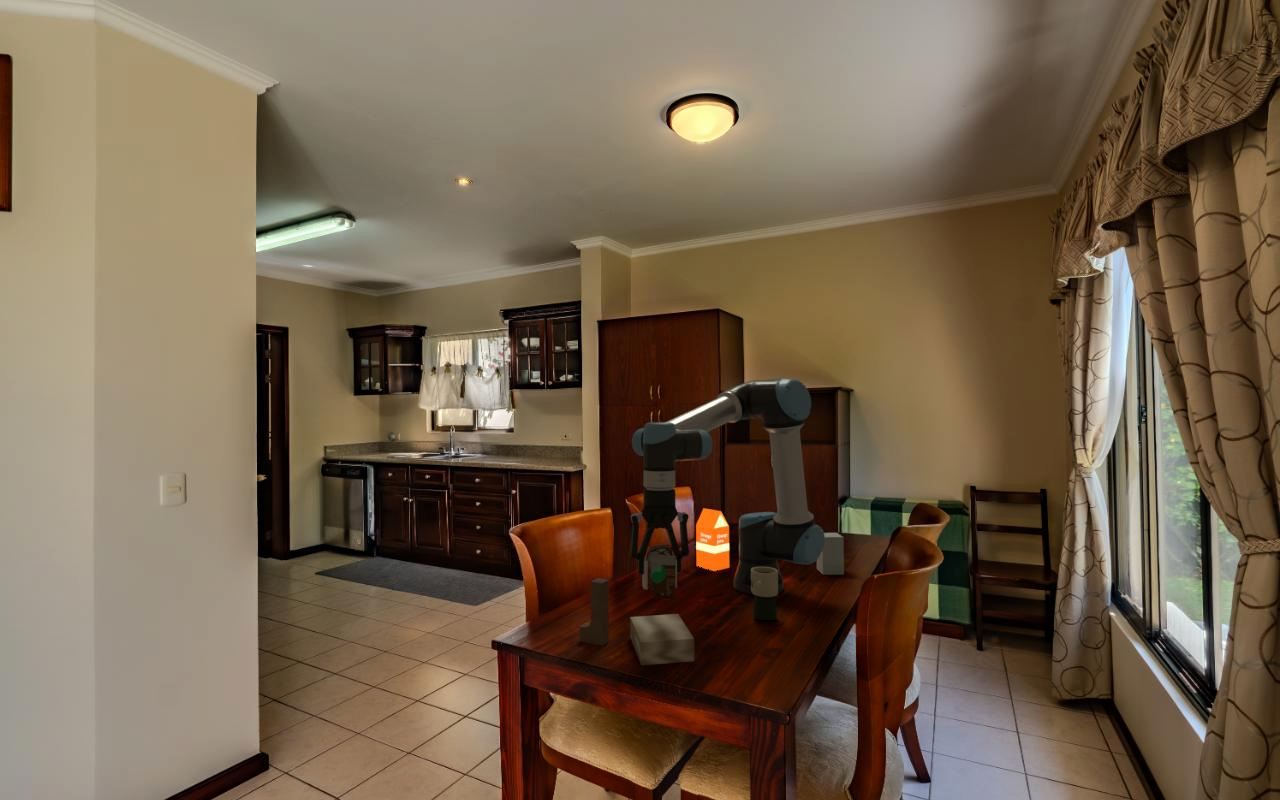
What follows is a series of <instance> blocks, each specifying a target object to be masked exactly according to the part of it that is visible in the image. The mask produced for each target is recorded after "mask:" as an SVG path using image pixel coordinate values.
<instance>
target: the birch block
mask: <svg viewBox="0 0 1280 800" xmlns="http://www.w3.org/2000/svg"><path fill="white" fill-rule="evenodd" d="M629 622H630V627H629V628H630V629H629V632H630V639H631V643H632V644H633V645H632V646H633V648H634V650H635V654H636V655H637V657H638V660H639V663H640V665H641V666H651V665H663V664H673V663H675V664H676V663H686V662H687V663H688V662H695V637H694V636H693V634H692V633H691V632H690V630H689V628H688V627H687V625H686V624H685V622H684V621H683V619H682V618H681V616H680V615H679V614H678V613H670V614H659V615H658V614H657V615H642V616H639V615H638V616H631V617H629Z"/></svg>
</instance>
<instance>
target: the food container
mask: <svg viewBox="0 0 1280 800" xmlns="http://www.w3.org/2000/svg"><path fill="white" fill-rule="evenodd" d="M645 558H646V560H647V561H648V563H649V579H650V590H651V592H650V593H651V595H652V596H653V597H657V598H659V599H668V600H676V588H675V582H676V556H675V555H674V554H673V552H672V551H671V550H670V544H669V543H668V544H658V545H654V546H651V547H650V548H649V547H648V550H647V552H646V556H645Z"/></svg>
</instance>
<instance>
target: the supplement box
mask: <svg viewBox="0 0 1280 800" xmlns="http://www.w3.org/2000/svg"><path fill="white" fill-rule="evenodd" d="M844 544H845V543H844V536H842V535H841V534H840V533H838V532H824V546H823V550H822V552H821V554H820V556H819V558H818V559H817V560H816V570H817V571H819V572H820V574H822V575H823V576H824V575H825V576H835V575H837V576H840V575H841V576H843V575H844V574H845V555H844V554H845V551H844V549H845V548H844ZM844 576H845V575H844Z"/></svg>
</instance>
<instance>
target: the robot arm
mask: <svg viewBox="0 0 1280 800" xmlns="http://www.w3.org/2000/svg"><path fill="white" fill-rule="evenodd" d="M811 410H812V399H811V395H810V391H809V390H808V388H807V387H806V385H805V384H803V382H801V381H800V380H798V379H796V378H794V379H793V378H785V377H784V378H775V379H774V378H773V379H754V380H749V381H747V382H743V383H741V384H738V385H735V386H734V387H731V388H729V389H726V390H725V391H722V392H721V393H719V394H718V395H717V397H716V398H715V399H713V400H711V401H709V402H707V403H704V404H702V405H700V406H698V407H696V408H694V409H692V410H689V411H687V412H685V413H683V414H681V415H678V416H677V417H674V418H672V419H670V420H668V421H665V422H647V423H645V424H644V426H643V428H639V429H637V430H635V432H634V433H633V436H632V438H631V445H632V449H633V452H635V454H636V455H638V456H640V457H643V459H642V460H643V481H642V482H643V483H642V484H643V487H644V489H643V508H642V510H641V512H638V513H631V514H630V520H631V523H632V525H631V526H632V527H631V538H630V549H629V550H630V551H629V555H630V556H631V557H632V559H636V560H637V571H638V574H639V575H642V581H641V582H642V583H641V584H642V588H643V589H644V590H648V587H649V586H648V585H649V584H648V583H649V581H648V576H649V575H648V573H649V571H648V563H649V561H647V560H646V556H647V552H648V550H649V547H650V542H651V538H652V536H653V533H654V531H655V530H657V529H665V531H666V533H667V537H668V539H669V543H670V545H671V549H672V551H673V552H672V553H673V556H676V582H675V589H677V588H678V573H682V559H683V558H684V557H688V556H689V554H690V548H689V535H688V520H689V517H690V516H689V514H688V513H686V512H680V511H678V510H677V507H676V490H675V487H676V465H677V464H676V462H677V463H678V462H685V461H687V462H688V461H699V460H704V459H707V458H709V457H710V454H712V452H713V446H714V445H713V443H714V442H713V439H712V436H711V434H709V432H711V431H713V430H714V429H717V428H720V427H721V426H724V425H725V424H727V423H730V424H733V423H734V424H735V423H737V422H739V421H742V420H762V427H763V429H764V430H765V431H766V432H768V434H769V443H770V451H771V461H772V463H771V464H772V471H773V480H774V481H773V482H774V490H775V500H776V501H775V502H776V507H777V511H776V512H773V511H763V512H751V513H746V514H742V515H741V516H740V517H739V520H738V529H737V530H738V561H739V562H738V565H737V567H736V571H735V573H734V574H735V575H734V577H733V588H734V589H735V590H737V591H738V592H741V593H744V594H749V595H754V594H753V593H752V592H751V568H754V567H771V568H775V569H777V570H778V594H779V593H781V592H783V591H784V580H783V577H782V574H781V571H780V568H779V565H778V560H782V561H785V562H790V563H793V564H796V565H806V566H807V565H808V566H809V565H812V564H814V563H815V562H817V559H818V558H819V556H820V554H821V552H822V550H823V546H824V533H825V532H824V530H823V529H822V527H821V526H819V525H818V524H815V516H814V514H813V513H811V512H810V511H809V508H808V501H807V500H808V499H807V490H806V480H805V479H806V478H805V471H804V461H803V452H802V441H801V432H800V431H801V430H802V428H803V426H804V425H805V420H806V419H807V418H808V417H809V416H810V413H811ZM642 518H643V519H644V520H645V522H646V527H645V530H644V535H643V538H642V541H641V544H640V547H639V551H638V545H639V534H640V533H639V531H640V523H641V522H642ZM676 518H677V520H678V522H679V533H680V534H679V535H680V547H681V550H680V547H679V543H678V541H677V538H676V535H675V532H674V528H673V525H672V523H674V521H675V519H676Z"/></svg>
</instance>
